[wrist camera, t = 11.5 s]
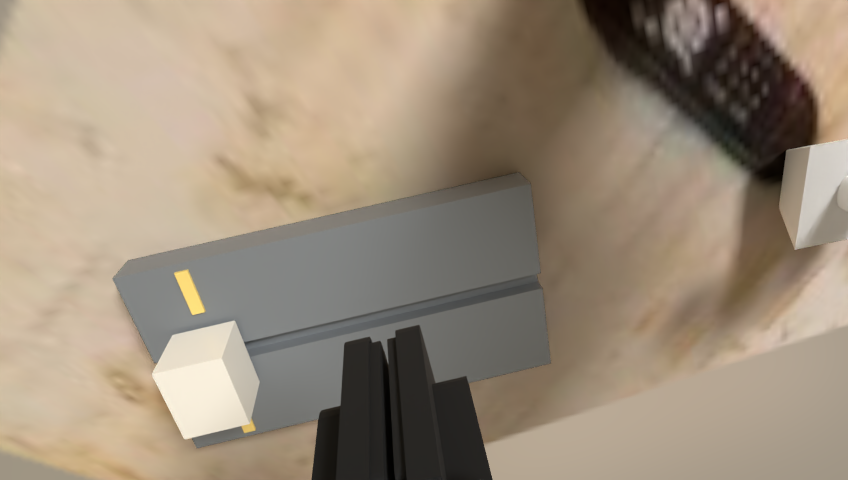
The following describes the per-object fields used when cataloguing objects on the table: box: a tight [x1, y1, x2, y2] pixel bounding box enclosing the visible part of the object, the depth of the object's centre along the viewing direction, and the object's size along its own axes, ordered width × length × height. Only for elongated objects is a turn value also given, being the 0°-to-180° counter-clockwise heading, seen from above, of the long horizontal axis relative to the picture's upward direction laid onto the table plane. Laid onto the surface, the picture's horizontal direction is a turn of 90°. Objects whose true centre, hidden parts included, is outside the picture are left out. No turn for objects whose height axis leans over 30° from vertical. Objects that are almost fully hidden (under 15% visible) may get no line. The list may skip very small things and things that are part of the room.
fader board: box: [113, 172, 551, 448], centre depth 37 cm, size 26×14×3 cm, turn 101°
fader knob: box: [152, 321, 260, 440], centre depth 34 cm, size 4×5×5 cm
